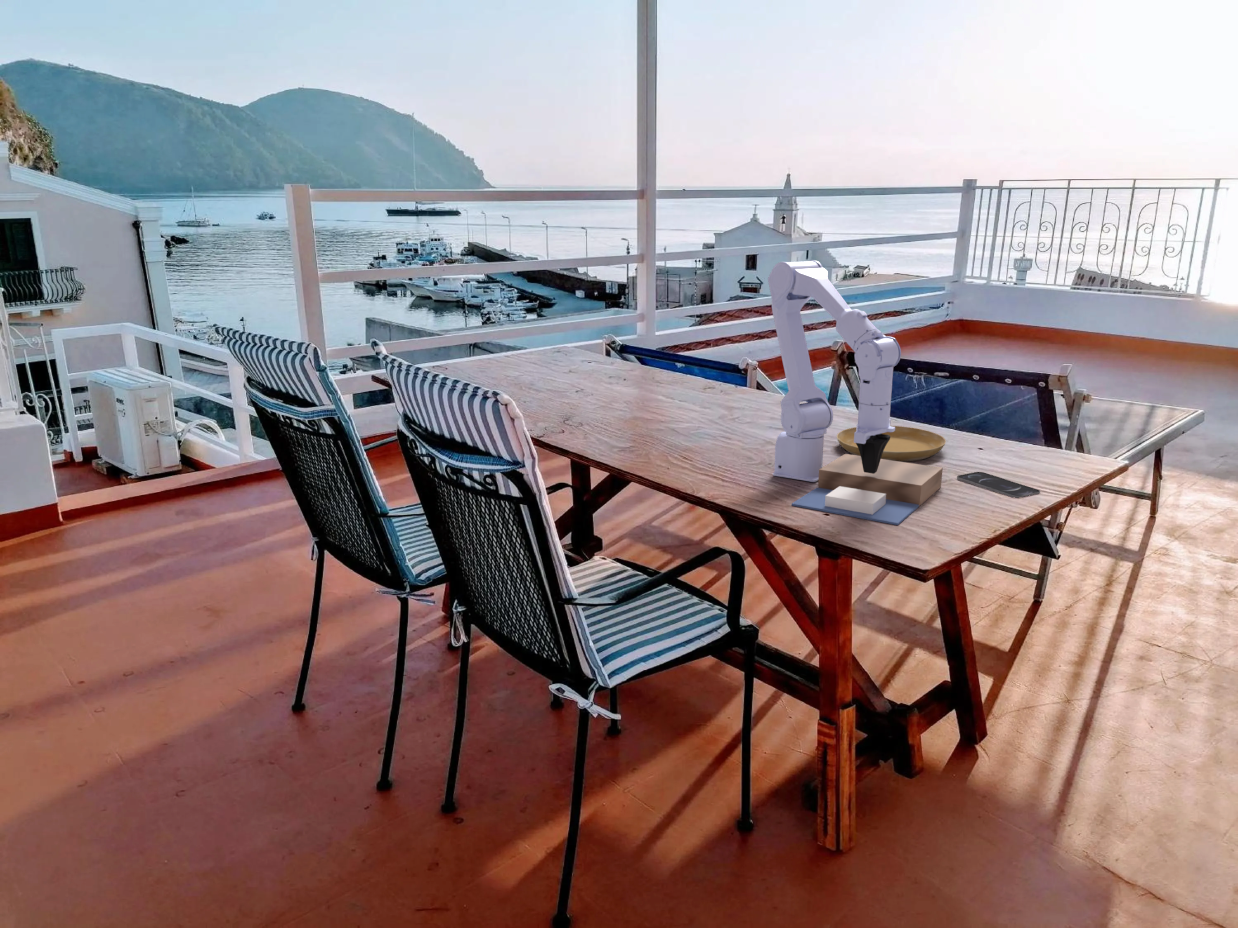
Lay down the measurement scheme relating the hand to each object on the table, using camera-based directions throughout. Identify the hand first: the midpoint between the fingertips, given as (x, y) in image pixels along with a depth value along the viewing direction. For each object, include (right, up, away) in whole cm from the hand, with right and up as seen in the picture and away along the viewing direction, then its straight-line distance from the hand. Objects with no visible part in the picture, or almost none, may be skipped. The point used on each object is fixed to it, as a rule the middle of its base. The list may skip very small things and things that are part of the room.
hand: (870, 472), depth 161 cm
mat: (-4, -6, -4) cm, 9 cm away
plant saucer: (+15, +4, +34) cm, 38 cm away
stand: (+4, -3, +6) cm, 8 cm away
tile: (-4, -4, -6) cm, 8 cm away
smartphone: (+27, -3, +6) cm, 28 cm away
